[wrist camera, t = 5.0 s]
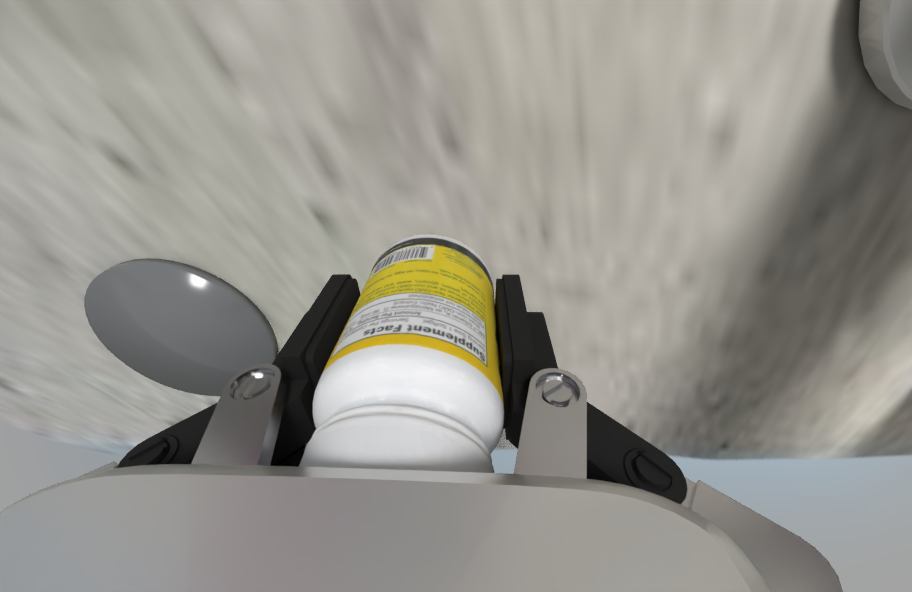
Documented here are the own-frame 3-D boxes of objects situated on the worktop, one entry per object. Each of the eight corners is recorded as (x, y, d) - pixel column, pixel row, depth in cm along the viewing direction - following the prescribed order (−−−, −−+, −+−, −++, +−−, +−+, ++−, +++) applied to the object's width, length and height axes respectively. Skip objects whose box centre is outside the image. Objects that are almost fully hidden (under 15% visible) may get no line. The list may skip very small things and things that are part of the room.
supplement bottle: (460, 346, 15) (446, 589, 8) (358, 306, 14) (245, 546, 7) (517, 263, 12) (568, 516, 6) (398, 206, 11) (280, 432, 5)
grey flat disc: (241, 256, 17) (235, 261, 17) (297, 387, 23) (293, 394, 22) (51, 260, 18) (40, 266, 17) (152, 390, 23) (146, 397, 23)
